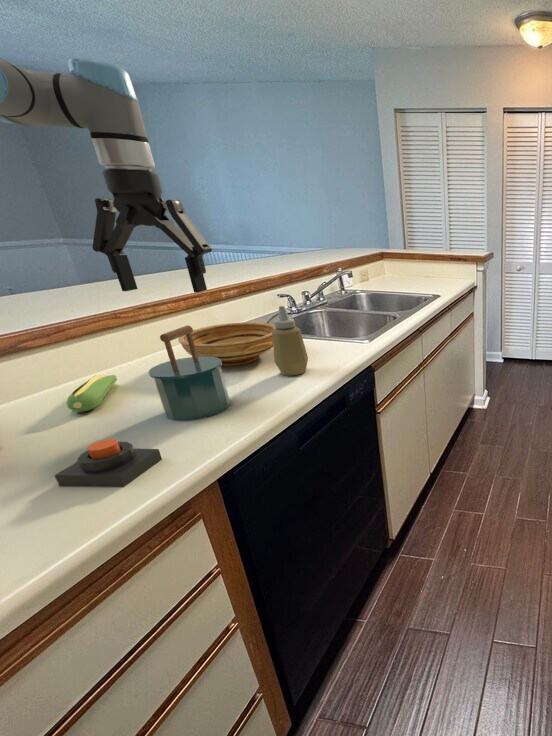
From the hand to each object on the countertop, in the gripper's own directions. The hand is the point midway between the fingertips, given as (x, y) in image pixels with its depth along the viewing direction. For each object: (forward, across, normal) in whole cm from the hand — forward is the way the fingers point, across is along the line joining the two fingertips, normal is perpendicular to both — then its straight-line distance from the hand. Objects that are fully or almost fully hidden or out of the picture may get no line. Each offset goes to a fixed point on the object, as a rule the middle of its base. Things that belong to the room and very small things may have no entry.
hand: (165, 290), depth 82 cm
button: (+22, -2, +24) cm, 33 cm away
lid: (+16, 0, 0) cm, 16 cm away
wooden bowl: (+26, +11, -33) cm, 43 cm away
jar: (+26, 0, 0) cm, 26 cm away
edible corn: (+26, +26, -5) cm, 37 cm away
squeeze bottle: (+26, -10, -23) cm, 36 cm away
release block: (+26, -2, +24) cm, 35 cm away
